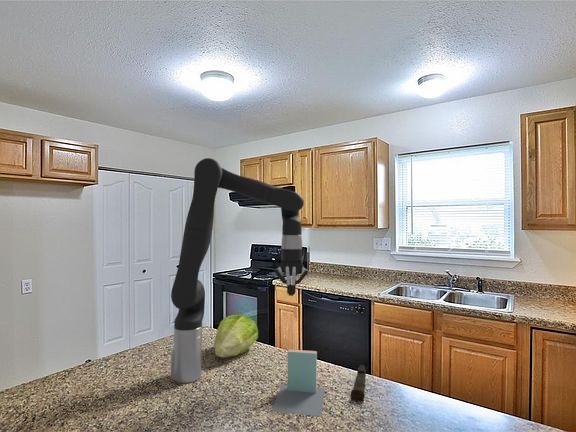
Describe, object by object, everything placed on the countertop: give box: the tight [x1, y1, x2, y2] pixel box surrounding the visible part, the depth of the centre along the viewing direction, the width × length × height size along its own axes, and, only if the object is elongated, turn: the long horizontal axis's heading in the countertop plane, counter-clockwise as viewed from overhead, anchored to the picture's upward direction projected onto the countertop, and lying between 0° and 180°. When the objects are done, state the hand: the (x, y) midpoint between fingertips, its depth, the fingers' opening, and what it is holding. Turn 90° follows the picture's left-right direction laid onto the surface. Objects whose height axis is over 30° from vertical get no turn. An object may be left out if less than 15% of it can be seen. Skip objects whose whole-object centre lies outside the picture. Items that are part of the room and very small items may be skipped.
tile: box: [286, 349, 318, 393], centre depth 106 cm, size 9×2×12 cm, turn 80°
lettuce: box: [213, 313, 259, 358], centre depth 137 cm, size 17×24×14 cm
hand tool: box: [350, 364, 367, 402], centre depth 108 cm, size 19×4×5 cm, turn 160°
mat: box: [270, 383, 326, 417], centre depth 100 cm, size 14×16×1 cm
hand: (291, 295), depth 122 cm, fingers closed
